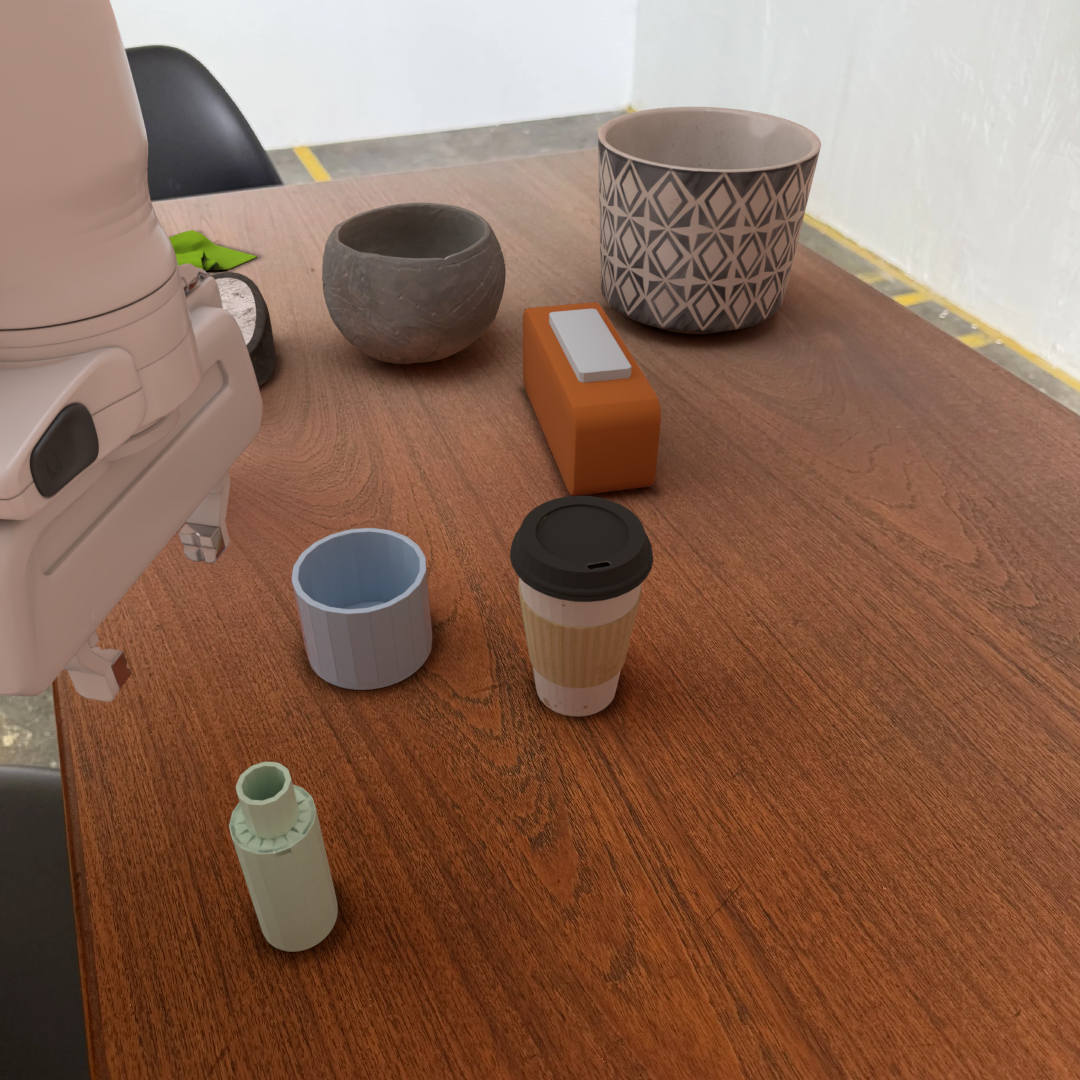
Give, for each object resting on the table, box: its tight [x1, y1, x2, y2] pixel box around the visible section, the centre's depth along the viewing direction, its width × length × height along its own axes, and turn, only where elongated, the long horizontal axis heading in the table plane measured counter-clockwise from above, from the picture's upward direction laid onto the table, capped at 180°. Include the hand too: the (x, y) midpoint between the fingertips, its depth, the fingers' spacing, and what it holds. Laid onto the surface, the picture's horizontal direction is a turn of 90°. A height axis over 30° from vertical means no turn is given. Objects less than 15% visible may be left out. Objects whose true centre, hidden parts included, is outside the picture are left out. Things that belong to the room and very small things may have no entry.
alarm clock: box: [522, 301, 662, 496], centre depth 99 cm, size 24×8×11 cm, turn 12°
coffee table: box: [209, 271, 277, 388], centre depth 108 cm, size 25×9×9 cm, turn 14°
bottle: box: [228, 761, 339, 953], centre depth 55 cm, size 5×5×13 cm
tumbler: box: [291, 527, 434, 691], centre depth 75 cm, size 10×10×8 cm
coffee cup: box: [509, 495, 654, 717], centre depth 70 cm, size 10×10×15 cm
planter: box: [597, 106, 822, 335], centre depth 121 cm, size 26×26×22 cm
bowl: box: [321, 202, 507, 365], centre depth 114 cm, size 21×21×15 cm
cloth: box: [168, 229, 258, 272], centre depth 138 cm, size 20×22×2 cm
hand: (161, 615), depth 45 cm, fingers open, 8 cm apart
